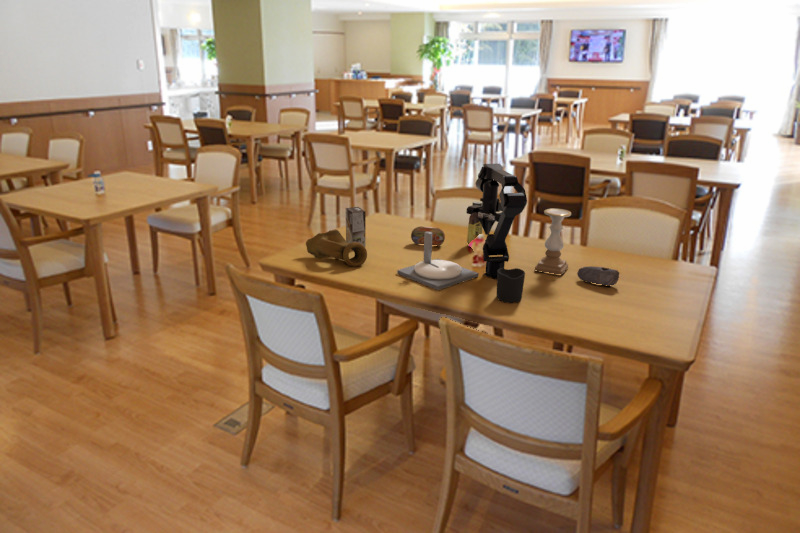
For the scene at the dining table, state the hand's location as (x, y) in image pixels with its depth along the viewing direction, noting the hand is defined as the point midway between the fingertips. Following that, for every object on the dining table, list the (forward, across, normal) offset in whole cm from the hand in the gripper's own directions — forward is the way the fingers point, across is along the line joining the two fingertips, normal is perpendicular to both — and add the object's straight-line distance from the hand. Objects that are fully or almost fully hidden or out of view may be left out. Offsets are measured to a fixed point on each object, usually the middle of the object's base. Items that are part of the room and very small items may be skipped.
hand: (487, 234), depth 237 cm
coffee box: (+13, +54, +24) cm, 61 cm away
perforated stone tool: (+13, -40, -17) cm, 45 cm away
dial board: (+13, +4, +23) cm, 27 cm away
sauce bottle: (+13, +20, -16) cm, 29 cm away
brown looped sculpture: (+13, +43, +43) cm, 62 cm away
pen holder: (+13, -28, +20) cm, 37 cm away
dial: (+11, +4, +23) cm, 26 cm away
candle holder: (+13, -20, -17) cm, 29 cm away
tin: (+13, +34, -1) cm, 37 cm away
